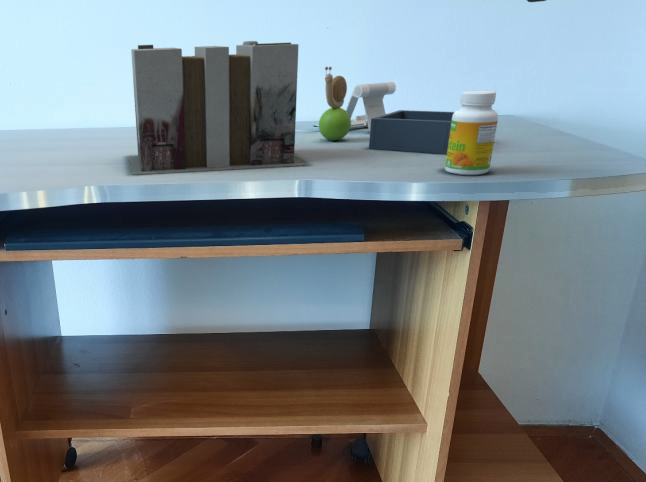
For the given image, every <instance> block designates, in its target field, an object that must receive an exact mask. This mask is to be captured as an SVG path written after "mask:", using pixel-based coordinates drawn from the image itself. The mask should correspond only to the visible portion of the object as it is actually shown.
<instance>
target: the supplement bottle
mask: <svg viewBox="0 0 646 482" xmlns="http://www.w3.org/2000/svg"><path fill="white" fill-rule="evenodd" d="M496 97H497V92H496V91H494V90H465V91H461V94H460V100H459V104H460V105H461V107H460V108H459V109H457V110H455V111H454V112H455V113H454V114H453V116H452V122H451V129H450V136H449V143H448V150H447V154H446V157H445V166H444V170H445V171H446V173H449V174H454V175H462V176H479V175H484V174H487V173H488V172H489V171H490V167H491V163H492V156H493V150H494V145H495V138H496V133H497V127H498V121H499V114H498V112H497V111H496V110H494V109H493V105H495V102H496Z"/></svg>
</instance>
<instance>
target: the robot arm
mask: <svg viewBox="0 0 646 482" xmlns="http://www.w3.org/2000/svg"><path fill="white" fill-rule="evenodd" d="M526 1H527V2H528V3H537V2H538V3H539V2H546V1H547V0H526Z"/></svg>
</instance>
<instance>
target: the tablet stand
mask: <svg viewBox="0 0 646 482" xmlns="http://www.w3.org/2000/svg"><path fill="white" fill-rule="evenodd" d="M396 90H397V85H396V83H395V82H393V81H387V82H375V83H374V82H373V83H364V84H363V83H362V84H356V85H354V87H353V90H352V93H351V95H350V98H349V100H348V103H347V106H346V108H345V109H344V110H345V111H346V112H347V113H348V114H349V116H350V118H351V119H352V116H353V114H354V111H355V109H356V106H357V104H358V101H359V99H360V98H362V103H363V107H364V112H365V114H362V115H356V116H355V117H354V120H351V127H350V130H355V129H366V128H368V132H369V133H370V128H371V119H372V118H375V117H378V116H382V115H385V114H386V110H385V104H384V98H385V96H387V95H389V96H390V95H393V94H394V93H395V92H396Z"/></svg>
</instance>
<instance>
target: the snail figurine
mask: <svg viewBox="0 0 646 482" xmlns="http://www.w3.org/2000/svg"><path fill="white" fill-rule="evenodd" d="M332 69H333V67H332V66H325V67H324V70H325V72H327V71H332ZM324 81H325V88H324V89H325V99H326V102H327V103H326V104H327V105H328V106H329V107H330V108H328V109H327V110H325V111H323V113H322V114H321V116H320V118H319V120H318V130H319V133H320V134H321V136H322V137H323V138H324V139H326V140H328V141H331V142H332V141H333V142H337V141H340V140H342V139H344V138H345V137H346V136H347V135H348V133H349V132H350V130H351V129H350V127H351V121H352V117H351V118H350V116H349V114H348V113H347V112H346V111H345V110H346V109H344V108H341V107H343V105H344V103H345V98H346V96H347V92H348V85H347V80H346V78H345V77H344V76H342V75H336V76H335V77H334V76H333V74H332V73H326V74H325V77H324Z"/></svg>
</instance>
